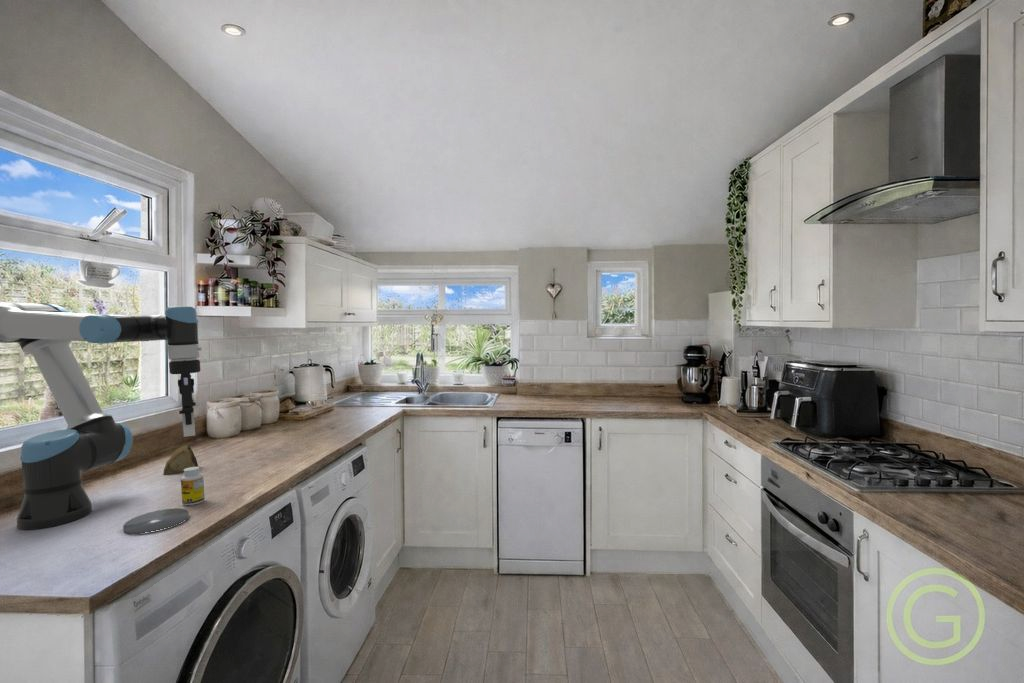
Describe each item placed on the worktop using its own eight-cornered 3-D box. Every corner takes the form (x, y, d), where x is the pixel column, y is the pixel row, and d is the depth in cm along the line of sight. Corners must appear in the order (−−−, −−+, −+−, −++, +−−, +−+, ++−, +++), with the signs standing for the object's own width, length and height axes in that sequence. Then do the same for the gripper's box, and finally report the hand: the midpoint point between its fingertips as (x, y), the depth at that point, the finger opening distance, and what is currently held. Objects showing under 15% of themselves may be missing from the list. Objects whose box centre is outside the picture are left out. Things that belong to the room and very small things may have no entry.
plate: (120, 539, 120) (119, 534, 120) (127, 520, 132) (126, 516, 132) (188, 525, 128) (188, 520, 127) (189, 508, 139) (189, 504, 139)
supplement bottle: (178, 504, 143) (176, 469, 143) (198, 498, 148) (196, 464, 147) (188, 507, 140) (186, 472, 140) (208, 501, 145) (206, 467, 145)
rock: (155, 471, 170) (185, 465, 172) (158, 449, 175) (188, 443, 176) (171, 481, 179) (199, 475, 180) (173, 460, 183) (201, 454, 185)
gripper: (200, 360, 134) (205, 437, 135) (199, 357, 155) (203, 423, 156) (167, 362, 130) (172, 441, 131) (170, 358, 151) (175, 427, 152)
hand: (189, 432), depth 144 cm, fingers open, 13 cm apart
